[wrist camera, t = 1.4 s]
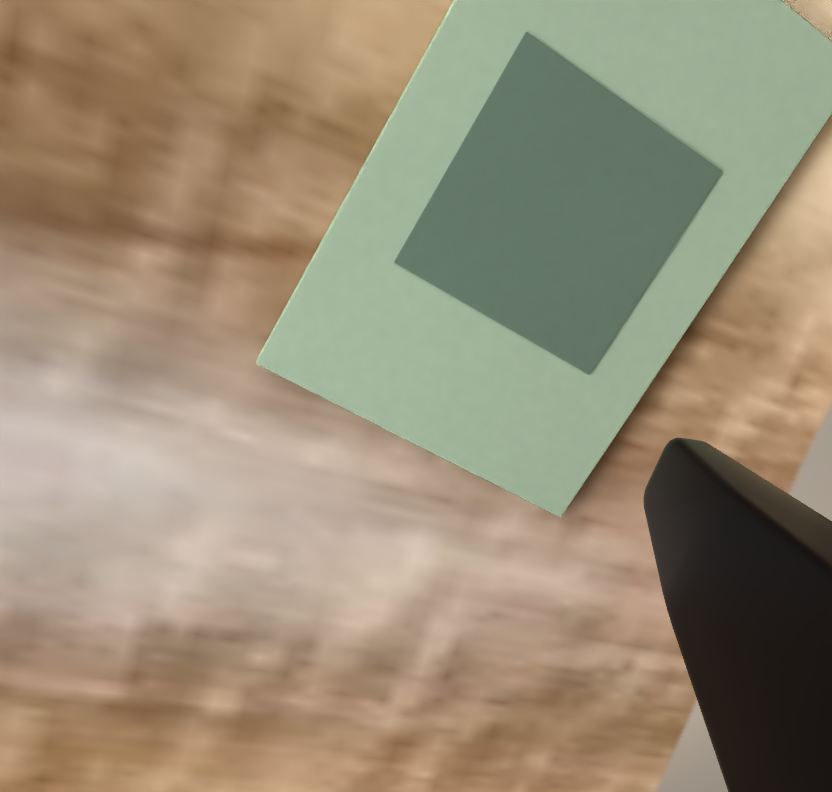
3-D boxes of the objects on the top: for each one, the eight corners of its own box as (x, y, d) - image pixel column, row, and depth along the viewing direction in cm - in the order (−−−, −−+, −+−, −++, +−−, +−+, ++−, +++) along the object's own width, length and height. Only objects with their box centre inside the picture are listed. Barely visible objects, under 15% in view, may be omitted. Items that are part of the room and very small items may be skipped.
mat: (555, 510, 26) (561, 519, 26) (256, 358, 23) (255, 365, 23) (850, 68, 23) (866, 66, 22) (549, -175, 20) (558, -186, 19)
